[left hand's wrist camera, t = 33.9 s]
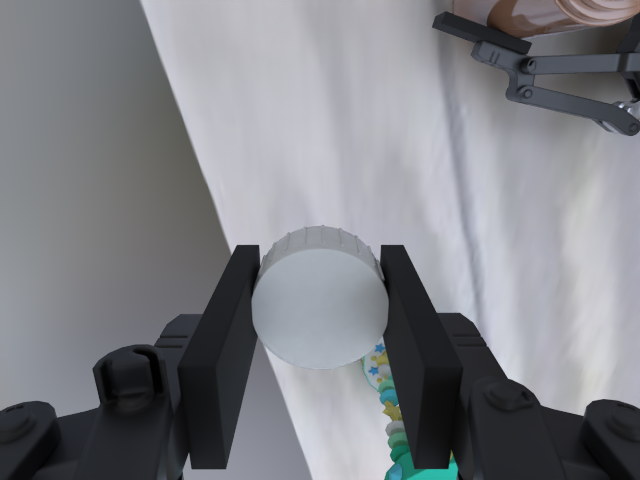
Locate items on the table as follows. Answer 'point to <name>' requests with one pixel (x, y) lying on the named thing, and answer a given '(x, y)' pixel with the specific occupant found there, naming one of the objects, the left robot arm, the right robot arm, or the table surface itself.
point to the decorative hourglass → (397, 422)
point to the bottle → (545, 15)
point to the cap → (320, 299)
